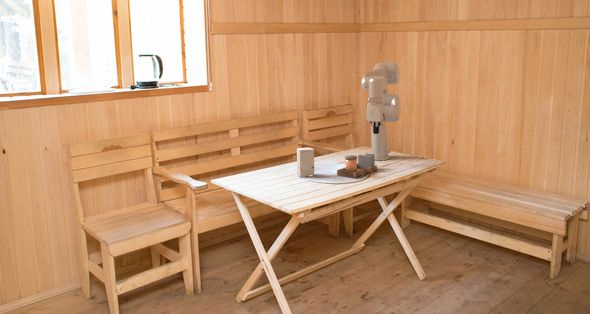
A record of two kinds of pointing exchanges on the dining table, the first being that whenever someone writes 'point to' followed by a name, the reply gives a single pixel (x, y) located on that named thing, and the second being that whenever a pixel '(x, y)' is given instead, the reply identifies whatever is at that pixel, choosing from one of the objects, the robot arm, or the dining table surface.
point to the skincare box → (305, 162)
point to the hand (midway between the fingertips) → (376, 133)
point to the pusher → (366, 160)
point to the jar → (351, 163)
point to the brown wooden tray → (357, 174)
